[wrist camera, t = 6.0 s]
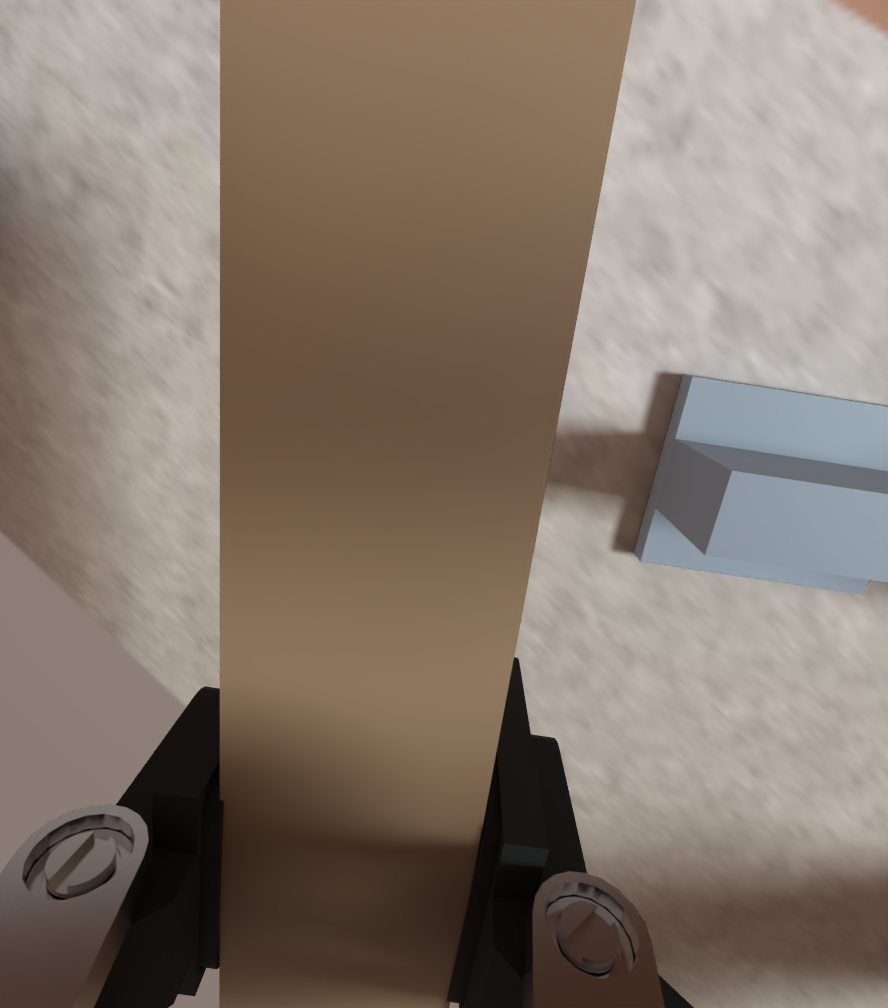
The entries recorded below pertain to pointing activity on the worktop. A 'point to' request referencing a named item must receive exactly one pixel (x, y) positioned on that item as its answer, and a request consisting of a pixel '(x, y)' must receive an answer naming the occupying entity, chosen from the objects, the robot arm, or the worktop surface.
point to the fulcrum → (771, 487)
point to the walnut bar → (385, 454)
